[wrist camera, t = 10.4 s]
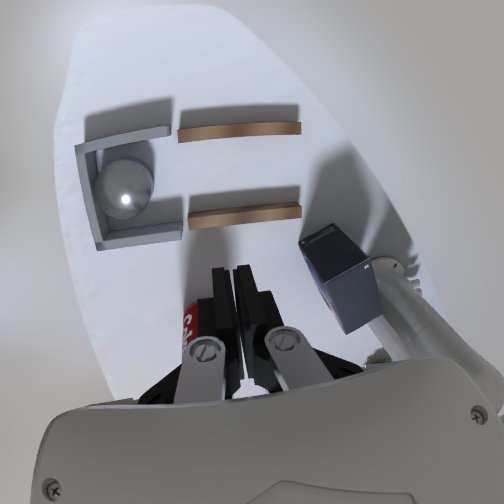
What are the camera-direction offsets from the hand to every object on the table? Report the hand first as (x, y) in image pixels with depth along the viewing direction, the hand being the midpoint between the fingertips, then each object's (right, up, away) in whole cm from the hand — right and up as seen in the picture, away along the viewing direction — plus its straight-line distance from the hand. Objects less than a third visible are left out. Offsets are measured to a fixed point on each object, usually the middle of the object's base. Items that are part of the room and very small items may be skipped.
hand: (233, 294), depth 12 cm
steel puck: (-14, +10, +19) cm, 26 cm away
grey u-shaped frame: (-13, +10, +19) cm, 25 cm away
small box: (+12, +1, +29) cm, 31 cm away
